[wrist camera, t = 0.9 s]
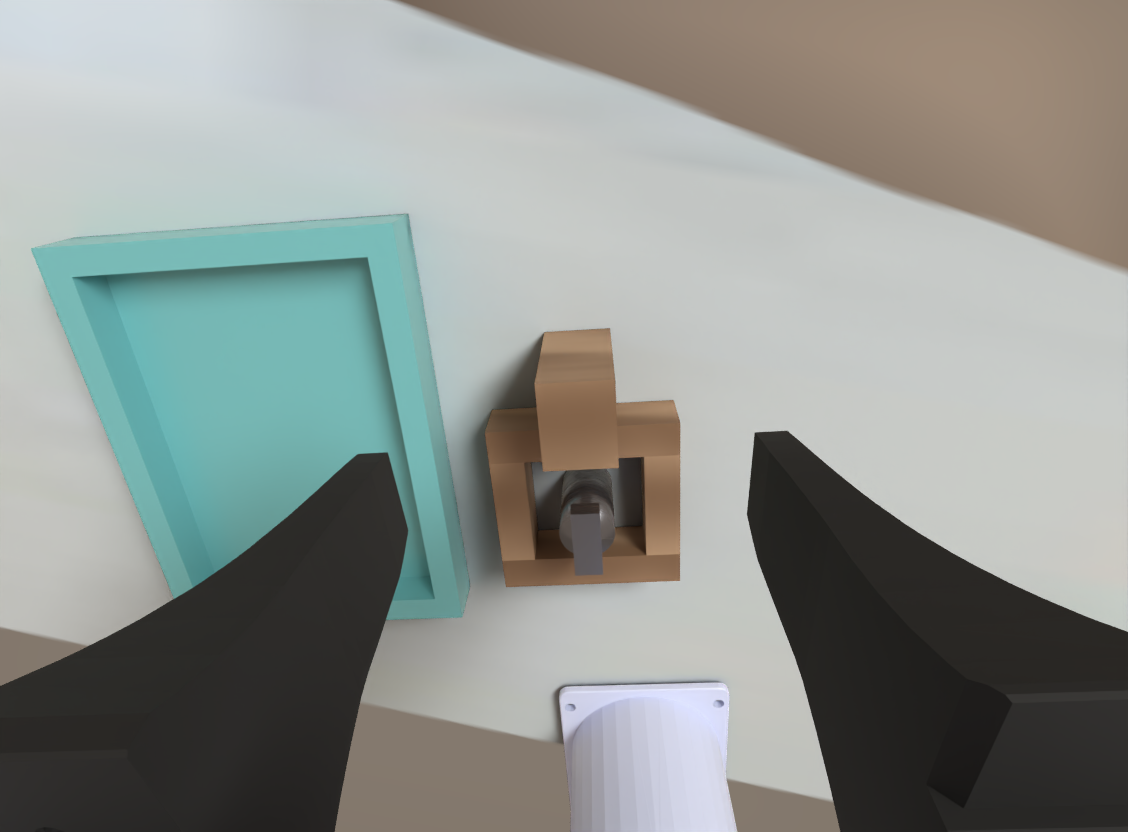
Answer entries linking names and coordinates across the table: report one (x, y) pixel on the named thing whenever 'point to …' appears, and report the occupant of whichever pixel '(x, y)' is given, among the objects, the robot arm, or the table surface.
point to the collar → (584, 465)
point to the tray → (263, 384)
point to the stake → (587, 518)
